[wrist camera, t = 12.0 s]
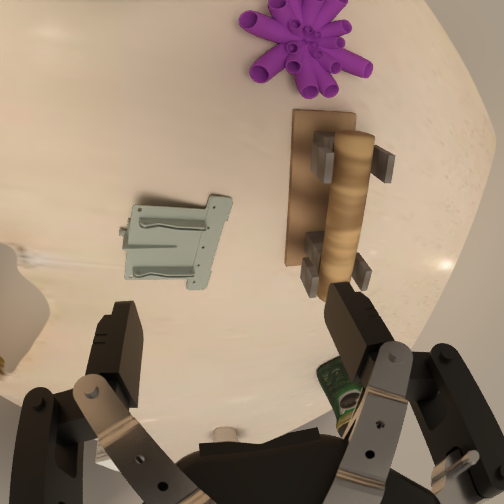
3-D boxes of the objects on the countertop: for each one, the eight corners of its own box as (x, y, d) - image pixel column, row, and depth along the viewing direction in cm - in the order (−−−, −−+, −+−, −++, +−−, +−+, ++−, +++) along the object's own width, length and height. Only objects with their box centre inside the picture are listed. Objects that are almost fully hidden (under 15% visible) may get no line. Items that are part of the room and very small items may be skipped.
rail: (328, 129, 30) (347, 138, 27) (361, 130, 31) (382, 139, 28) (311, 286, 41) (323, 306, 38) (338, 281, 42) (352, 300, 38)
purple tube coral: (293, 95, 37) (261, 117, 31) (257, -8, 29) (214, -10, 23) (379, 84, 31) (368, 103, 25) (344, -31, 23) (322, -47, 17)
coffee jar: (322, 382, 68) (347, 452, 52) (311, 367, 63) (338, 443, 48) (360, 364, 66) (391, 432, 51) (353, 347, 62) (387, 421, 46)
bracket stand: (292, 109, 35) (326, 126, 26) (352, 112, 36) (400, 132, 27) (284, 262, 47) (305, 313, 38) (334, 257, 48) (363, 305, 39)
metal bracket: (119, 299, 40) (129, 195, 32) (114, 272, 44) (125, 176, 36) (216, 296, 47) (245, 204, 40) (204, 272, 51) (228, 185, 44)
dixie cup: (216, 439, 77) (219, 470, 69) (203, 428, 72) (206, 462, 64) (244, 433, 76) (249, 464, 68) (233, 421, 72) (239, 456, 64)
